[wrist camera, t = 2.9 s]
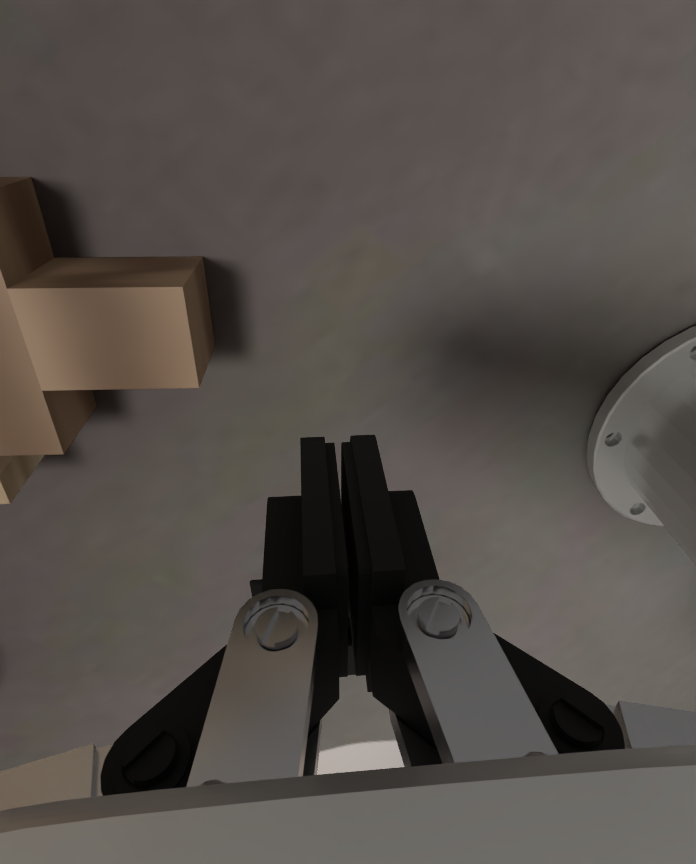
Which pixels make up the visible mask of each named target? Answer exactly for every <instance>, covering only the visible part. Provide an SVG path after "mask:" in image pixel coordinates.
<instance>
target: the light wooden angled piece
mask: <svg viewBox="0 0 696 864" xmlns="http://www.w3.org/2000/svg"><path fill="white" fill-rule="evenodd" d="M44 456H45V455H15V456H0V504H10V503H11V502H12V500H13V499H14V498H15V496H16V495H17V493H18V492H19V491H20V489H21V488H22V486H23V485H24V484H25V482H26V481H27V479H28V478H29V477H30V475H31V474H32V472H33V471H34V470H35V468H36V467H37V465H38V464H39V463H40V461H41V460H42V458H43V457H44Z"/></svg>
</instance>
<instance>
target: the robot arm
mask: <svg viewBox="0 0 696 864" xmlns="http://www.w3.org/2000/svg"><path fill="white" fill-rule="evenodd" d="M300 441H301V495H302V496H285V497H268V501H267V515H266V531H265V547H264V563H263V579H262V593H258V594H257V595H255V596H254V597H252V598H250V599H249V600H248V601H247V602H246V603H245V604H244V605H243V606H242V607H241V608H240V609H239V611H238V613H237V615H236V618H235V620H234V623H233V627H232V630H231V634H230V637H229V640H228V644H227V645H226V646H225V647H223V648H222V649H221V650H220V651H219V652H217V653H216V654H215V655H214V656H213V657H212V658H210V659H209V660H208V661H207V662H206V663H205V664H203V665H202V666H201V667H200V668H199V669H197V670H196V671H195V672H194V673H193V674H192V675H190V676H189V677H188V678H187V679H186V680H184V681H183V682H182V683H181V684H180V685H179V686H177V687H176V688H175V689H174V690H173V691H171V692H170V693H169V694H168V695H167V696H166V697H164V698H163V699H162V700H161V701H160V702H159V703H157V704H156V705H155V706H154V707H153V708H151V709H150V710H149V711H148V712H147V713H146V714H144V715H143V716H142V717H141V718H140V719H138V720H137V721H136V722H135V723H134V724H133V725H131V726H130V727H129V728H128V729H127V730H126V731H125V732H124V733H123V734H122V735H121V736H120V737H119V738H118V739H117V740H116V741H115V742H114V743H113V744H110V745H107V746H104V747H100V748H97V749H96V747H95V745H94V743H93V744H90V745H86V746H83V747H80V748H77V749H73V750H70V751H67V752H63V753H60V754H57V755H54V756H50V757H47V758H44V759H41V760H37V761H34V762H31V763H28V764H24V765H21V766H18V767H15V768H11V769H8V770H5V771H2V772H0V864H696V712H692V711H686V710H679V709H672V708H666V707H659V706H652V705H645V704H639V703H632V702H625V701H618V703H617V705H616V706H612V705H605V703H604V702H602V701H601V700H600V699H598V698H597V697H596V696H594V695H593V694H592V693H590V692H589V691H587V690H586V689H584V688H582V687H581V686H579V685H577V684H576V683H574V682H573V681H571V680H569V679H568V678H566V677H564V676H563V675H561V674H560V673H558V672H556V671H555V670H553V669H551V668H550V667H548V666H547V665H545V664H543V663H542V662H540V661H538V660H537V659H535V658H533V657H532V656H530V655H529V654H527V653H525V652H524V651H522V650H520V649H519V648H517V647H516V646H514V645H512V644H511V643H509V642H507V641H506V640H504V639H503V638H501V637H499V636H498V635H496V634H494V633H493V631H492V630H491V628H490V626H489V624H488V622H487V620H486V618H485V617H484V615H483V613H482V611H481V609H480V607H479V605H478V604H477V602H476V601H475V600H474V598H473V597H472V596H471V594H470V593H468V592H467V591H466V590H464V589H463V588H462V587H460V586H458V585H456V584H454V583H451V582H449V581H444V580H439V576H438V573H437V570H436V566H435V563H434V559H433V556H432V552H431V549H430V546H429V542H428V539H427V535H426V532H425V529H424V525H423V522H422V518H421V515H420V511H419V508H418V505H417V501H416V498H415V495H414V492H413V491H412V490H407V491H388V488H387V484H386V480H385V475H384V471H383V467H382V462H381V458H380V454H379V449H378V445H377V441H376V437H375V435H356V436H351V437H350V442H342V444H341V498H340V489H339V481H338V472H337V463H336V454H335V445H334V443H325V438H324V437H308V438H300ZM586 455H587V464H588V471H589V474H590V476H591V479H592V481H593V484H594V486H595V487H596V488H597V490H598V491H599V493H600V494H601V496H602V497H603V498H604V500H605V501H606V502H607V503H608V504H609V505H610V506H611V507H612V508H613V509H614V510H615V511H616V512H618V513H620V514H621V515H623V516H625V517H626V518H628V519H631V520H634V521H637V522H641V523H644V524H648V525H657V526H665V528H666V529H667V530H668V531H669V532H670V534H671V535H672V536H673V537H674V539H675V540H676V541H677V542H678V543H679V545H680V546H681V547H682V548H683V550H684V551H685V552H686V553H687V555H688V556H689V557H690V558H691V559H692V561H693V562H694V563H695V564H696V326H694V327H691V328H689V329H687V330H685V331H684V332H682V333H680V334H678V335H676V336H674V337H672V338H670V339H668V340H666V341H665V342H664V343H662V344H661V345H659V346H658V347H657V348H655V349H654V350H652V351H651V352H649V353H648V354H647V355H645V356H644V357H643V358H641V359H640V360H639V361H638V362H637V363H636V364H635V365H634V366H633V367H632V368H631V369H630V370H629V371H628V372H627V373H625V374H624V375H623V376H622V378H621V379H620V380H619V381H618V383H617V384H616V385H615V386H614V388H613V389H612V390H611V391H610V393H609V394H608V395H607V397H606V399H605V400H604V402H603V404H602V406H601V407H600V409H599V411H598V413H597V414H596V416H595V419H594V422H593V425H592V428H591V431H590V433H589V438H588V445H587V453H586ZM348 607H349V616H350V626H351V636H352V645H353V655H354V664H355V673H356V676H360V675H366V682H367V690H368V692H372V693H373V697H375V698H376V699H377V700H378V701H380V702H381V703H382V704H384V705H385V706H386V707H387V708H389V713H390V720H391V724H392V727H393V730H394V733H395V737H396V740H397V743H398V747H399V750H400V753H401V756H402V760H403V763H404V766H405V767H403V768H402V767H401V768H390V769H379V770H368V771H356V772H345V773H334V774H323V775H317V768H318V757H319V748H320V739H321V729H322V717H323V716H324V715H325V714H326V713H327V712H328V711H329V710H330V708H331V707H332V706H333V705H334V704H335V703H336V702H337V701H338V699H339V677H347V676H348Z"/></svg>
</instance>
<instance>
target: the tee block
mask: <svg viewBox="0 0 696 864" xmlns="http://www.w3.org/2000/svg"><path fill="white" fill-rule="evenodd" d="M214 348H215V342H214V335H213V328H212V320H211V313H210V306H209V299H208V291H207V284H206V277H205V270H204V262H203V257H93V258H54V255H53V252H52V248H51V245H50V241H49V238H48V234H47V231H46V227H45V224H44V220H43V217H42V213H41V210H40V206H39V203H38V199H37V196H36V192H35V189H34V185H33V182H32V178H31V177H0V456H15V455H56V454H64V453H65V452H66V450H67V449H68V447H69V446H70V445H71V443H72V442H73V440H74V439H75V437H76V436H77V434H78V433H79V431H80V430H81V428H82V427H83V426H84V424H85V423H86V421H87V420H88V418H89V417H90V415H91V414H92V412H93V411H94V409H95V408H96V407H97V406H96V402H95V399H94V395H93V392H92V390H110V389H164V388H199V387H200V384H201V382H202V379H203V376H204V374H205V371H206V369H207V366H208V363H209V361H210V358H211V356H212V353H213V351H214Z"/></svg>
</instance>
